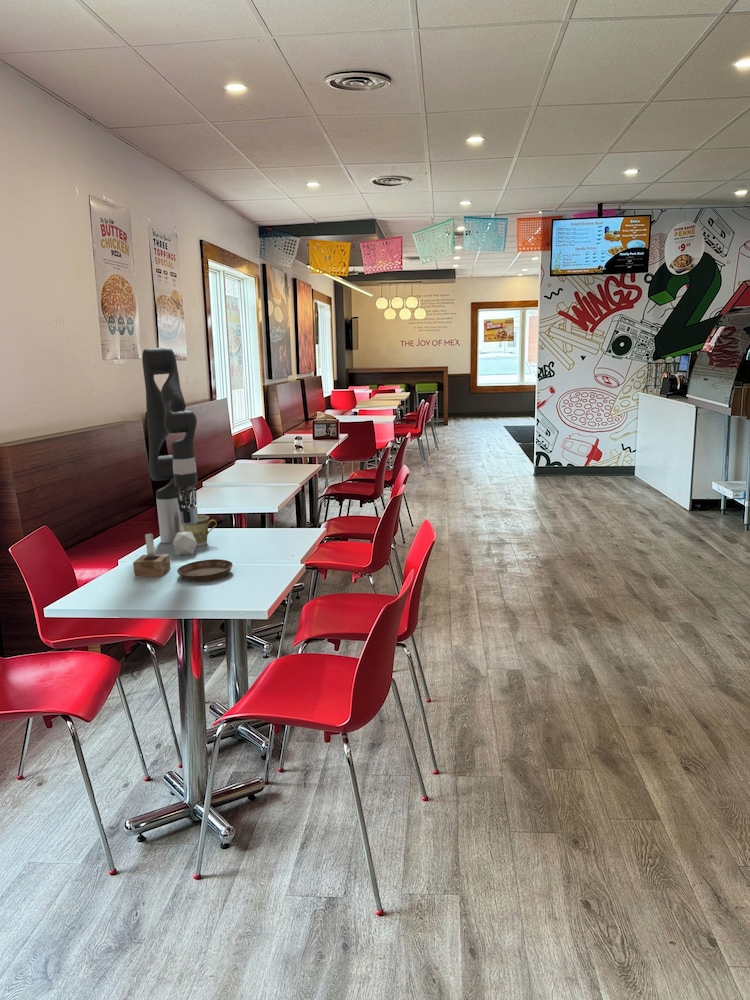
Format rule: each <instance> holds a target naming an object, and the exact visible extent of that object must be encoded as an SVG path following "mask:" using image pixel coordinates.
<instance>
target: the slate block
mask: <svg viewBox="0 0 750 1000" xmlns="http://www.w3.org/2000/svg"><path fill="white" fill-rule="evenodd" d="M184 508H185V506H184ZM198 516H199V514H198V506H195V507H190V518H191V522H190V523H184V519H183V512H180V517H181V524H195V523H196V522H198Z"/></svg>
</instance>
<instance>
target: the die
mask: <svg viewBox="0 0 750 1000" xmlns="http://www.w3.org/2000/svg"><path fill="white" fill-rule="evenodd" d="M172 545H173V547H174V549H175V551H176V553H177V555H178V556H185V555H186V556H187V555H193V554H194V553H195V550H196V548H197V546H196V545H197V542H196V540H195V538H194V536H193V534H192V532H179V533H177V534H176V536H175V539H174V541H173V543H172Z"/></svg>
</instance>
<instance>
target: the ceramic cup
mask: <svg viewBox="0 0 750 1000" xmlns="http://www.w3.org/2000/svg"><path fill="white" fill-rule="evenodd" d="M211 522H215V525H213V527H212V528H211V529H209V524H211ZM217 526H218V522H217V520H216V519H210V516H208V515H198V522H196V523H195V524H183V528H184V531H185V532H192V534H193V536H194V538H195V540H196V542H197V545H196V547H200V546H201V545H202V546H205V545H207V543H208V535H209V533H210V532H212V530H213V529H214V528H216V527H217Z"/></svg>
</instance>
